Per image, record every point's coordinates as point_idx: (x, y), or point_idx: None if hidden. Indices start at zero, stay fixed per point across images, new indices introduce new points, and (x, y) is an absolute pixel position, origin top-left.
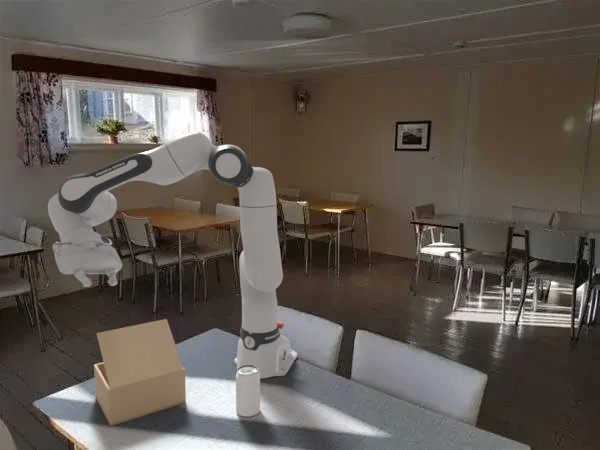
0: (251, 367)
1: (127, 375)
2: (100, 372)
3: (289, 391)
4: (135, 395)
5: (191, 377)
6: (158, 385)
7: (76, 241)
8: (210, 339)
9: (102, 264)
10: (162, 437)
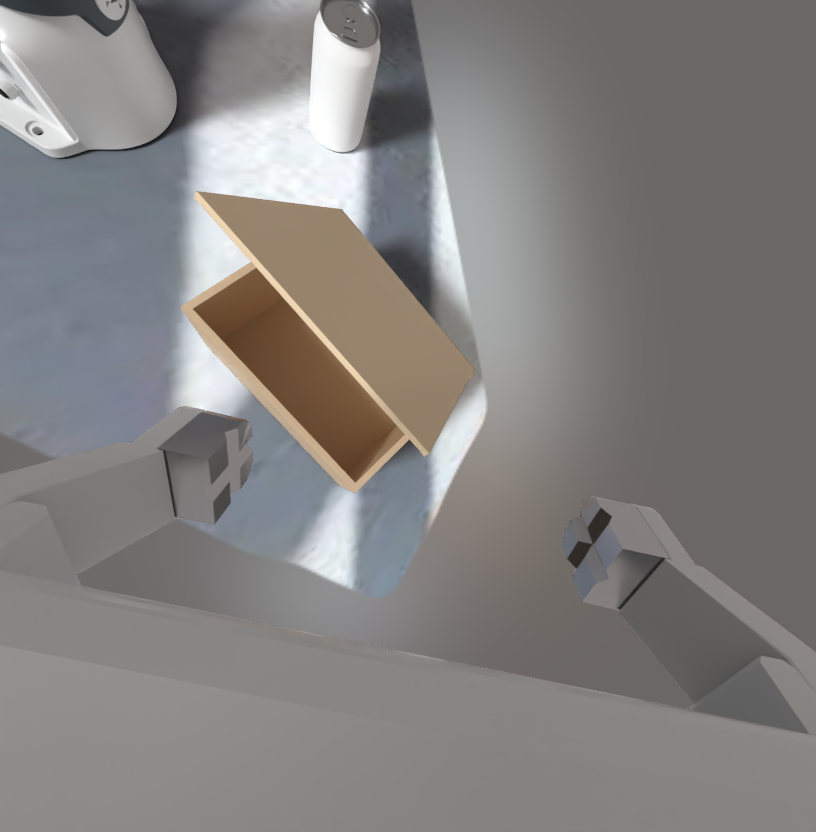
0: (328, 10)
1: (437, 337)
2: (397, 443)
3: (234, 31)
4: None
5: (190, 276)
6: None
7: None
8: None
9: (208, 712)
10: (446, 283)
